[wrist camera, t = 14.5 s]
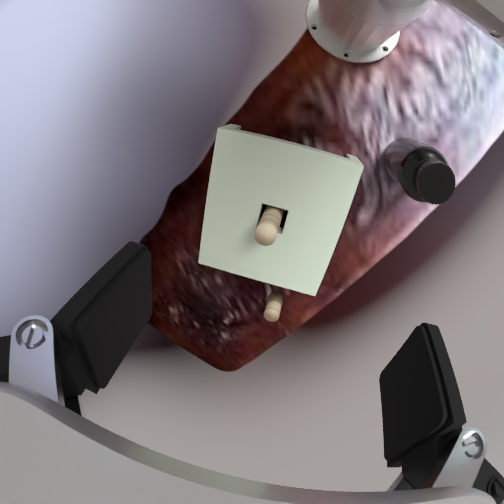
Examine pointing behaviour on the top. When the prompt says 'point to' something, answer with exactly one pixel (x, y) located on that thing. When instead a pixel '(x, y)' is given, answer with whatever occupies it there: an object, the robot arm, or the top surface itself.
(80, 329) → the robot arm
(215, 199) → the plate
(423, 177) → the supplement bottle
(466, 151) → the top surface
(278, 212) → the long birch pin
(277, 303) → the short birch pin
